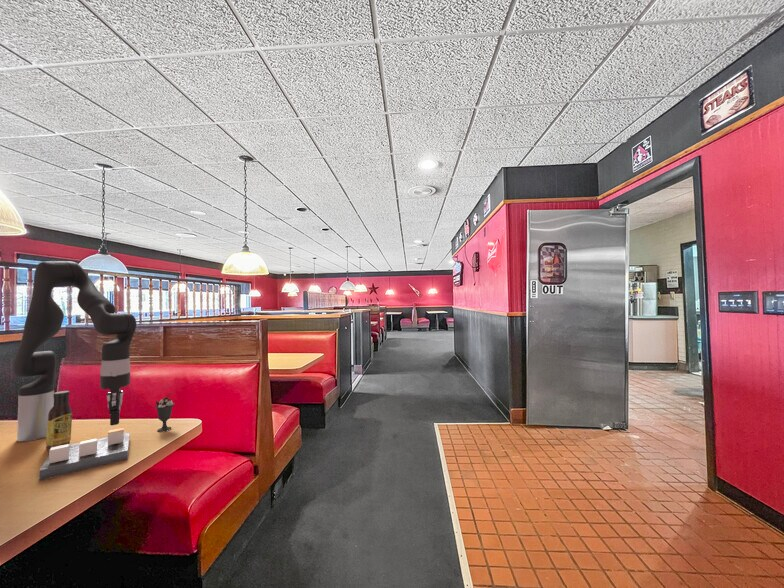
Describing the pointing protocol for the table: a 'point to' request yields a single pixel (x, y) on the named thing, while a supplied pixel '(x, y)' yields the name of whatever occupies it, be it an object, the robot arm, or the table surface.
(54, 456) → the right breaker handle
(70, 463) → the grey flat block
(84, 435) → the table surface
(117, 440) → the block
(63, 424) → the sauce bottle
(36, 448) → the table surface
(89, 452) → the handle
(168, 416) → the sundae
